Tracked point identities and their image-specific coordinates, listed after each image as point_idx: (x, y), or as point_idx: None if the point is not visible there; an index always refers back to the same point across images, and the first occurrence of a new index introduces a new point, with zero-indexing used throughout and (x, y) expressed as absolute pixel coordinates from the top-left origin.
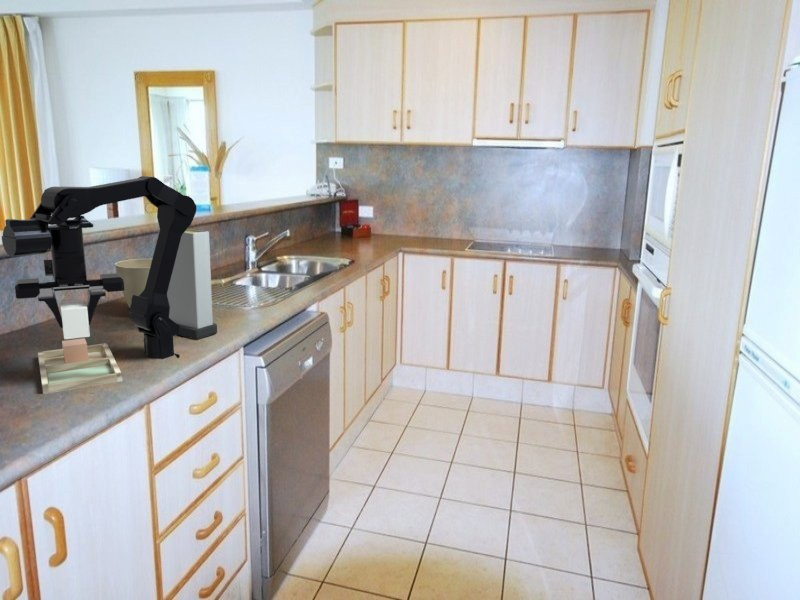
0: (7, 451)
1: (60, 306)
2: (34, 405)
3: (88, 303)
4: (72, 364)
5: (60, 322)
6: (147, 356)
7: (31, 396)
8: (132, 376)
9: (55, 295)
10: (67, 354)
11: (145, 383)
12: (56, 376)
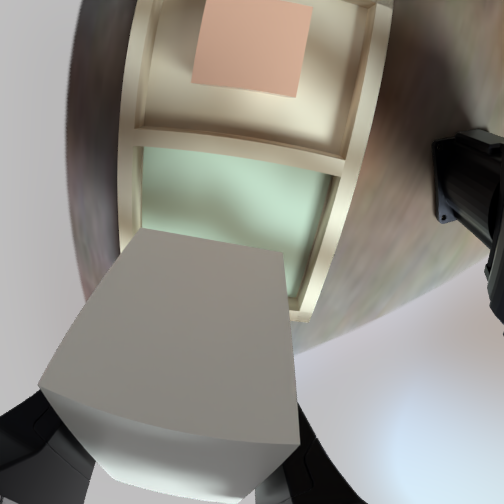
0: None
1: (84, 442)
2: None
3: (265, 502)
4: (216, 153)
5: None
6: (446, 175)
7: (112, 246)
8: (351, 260)
9: (10, 474)
10: (211, 85)
11: (347, 315)
12: (163, 186)
